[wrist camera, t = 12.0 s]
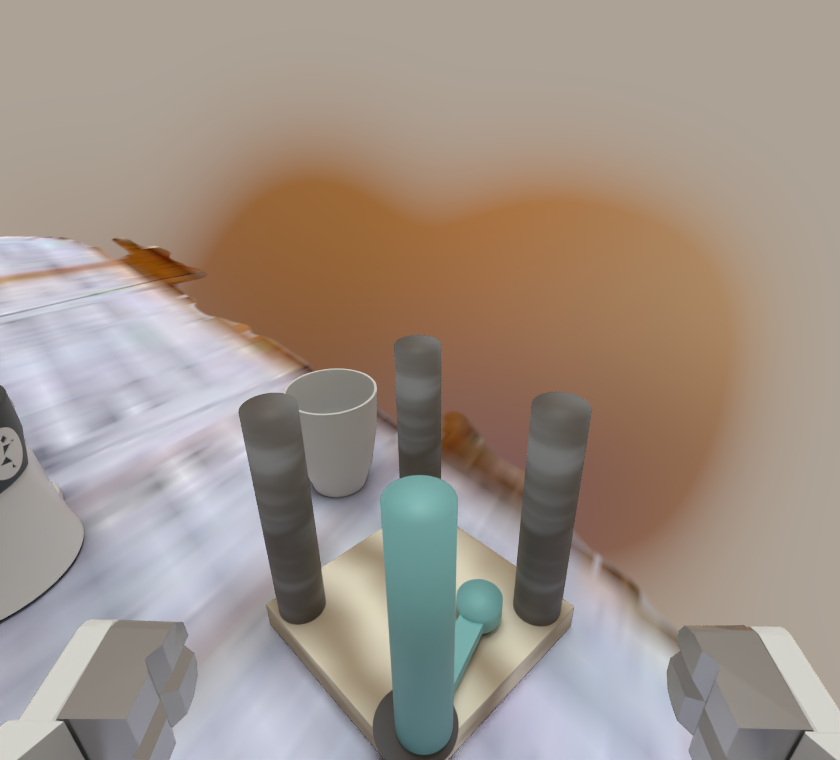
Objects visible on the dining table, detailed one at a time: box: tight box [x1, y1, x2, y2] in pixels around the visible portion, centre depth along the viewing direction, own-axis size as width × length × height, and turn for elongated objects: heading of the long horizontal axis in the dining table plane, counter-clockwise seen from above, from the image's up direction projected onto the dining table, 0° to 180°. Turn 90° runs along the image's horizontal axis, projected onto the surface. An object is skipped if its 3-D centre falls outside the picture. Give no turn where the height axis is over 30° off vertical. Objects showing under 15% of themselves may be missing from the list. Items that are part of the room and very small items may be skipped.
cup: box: [284, 369, 377, 497], centre depth 51 cm, size 8×8×10 cm
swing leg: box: [380, 475, 503, 755], centre depth 30 cm, size 11×3×16 cm, turn 153°
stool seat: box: [239, 335, 592, 760], centre depth 34 cm, size 16×16×18 cm
